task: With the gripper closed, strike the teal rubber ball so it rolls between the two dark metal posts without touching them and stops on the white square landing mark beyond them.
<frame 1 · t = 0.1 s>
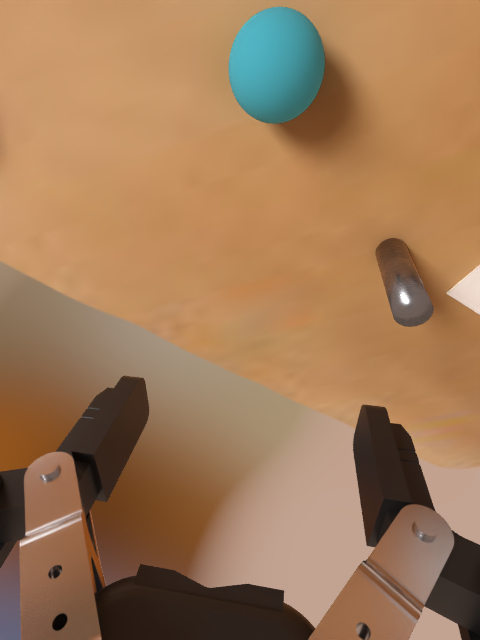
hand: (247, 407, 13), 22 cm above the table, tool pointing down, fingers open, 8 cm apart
ball: (276, 69, 23), on the table
post 1: (391, 251, 32), on the table
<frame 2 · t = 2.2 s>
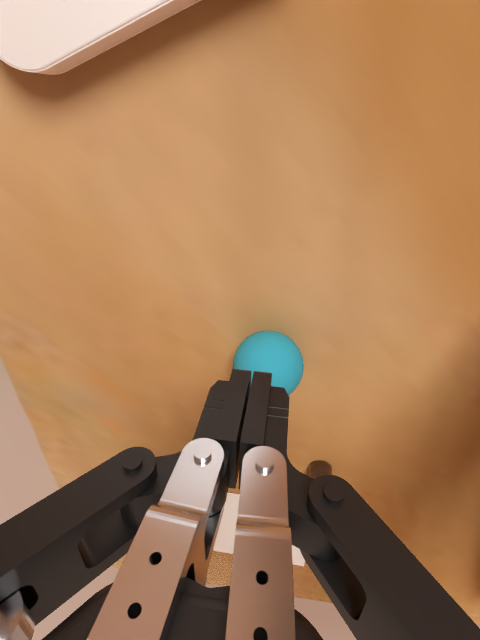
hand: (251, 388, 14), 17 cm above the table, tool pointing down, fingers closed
landing mark: (257, 529, 49), on the table
ball: (268, 365, 31), on the table
post 2: (319, 468, 41), on the table
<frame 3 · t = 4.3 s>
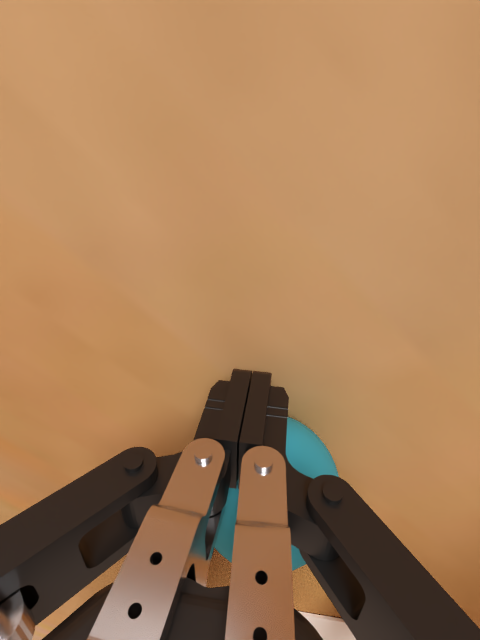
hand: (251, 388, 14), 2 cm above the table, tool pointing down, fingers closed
ball: (266, 486, 15), on the table
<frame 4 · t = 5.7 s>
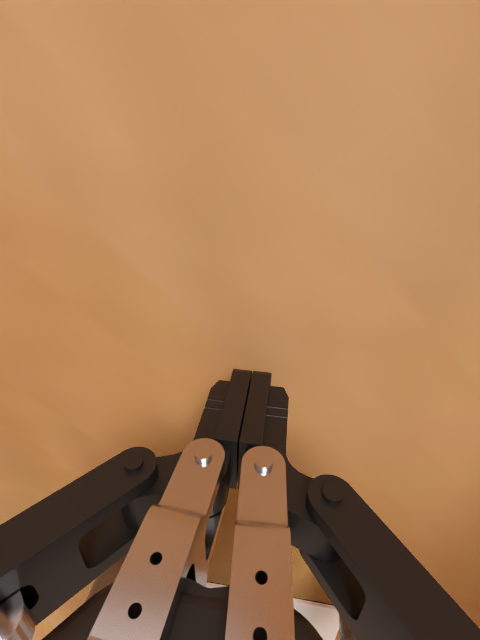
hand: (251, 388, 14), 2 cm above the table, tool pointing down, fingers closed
landing mark: (242, 630, 29), on the table
post 1: (145, 516, 23), on the table
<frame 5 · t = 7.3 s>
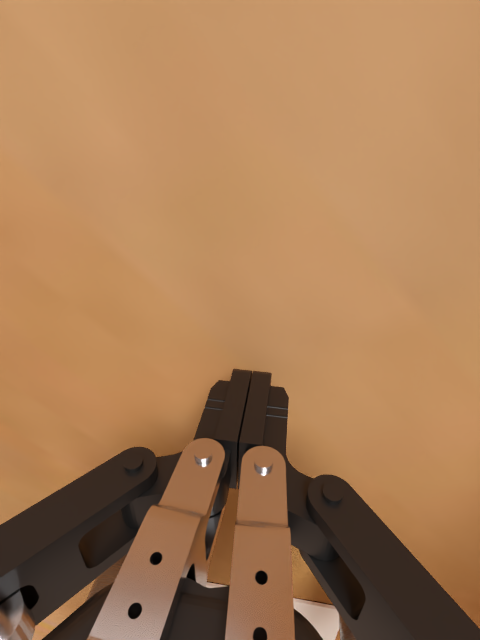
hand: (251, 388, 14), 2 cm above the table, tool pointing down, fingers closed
landing mark: (242, 630, 29), on the table
post 1: (145, 516, 23), on the table
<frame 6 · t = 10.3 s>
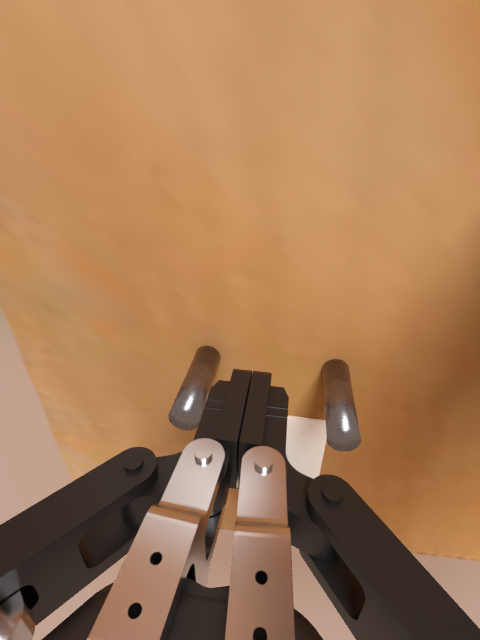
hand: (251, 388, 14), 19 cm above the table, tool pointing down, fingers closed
landing mark: (263, 454, 44), on the table
post 2: (335, 369, 36), on the table
post 1: (208, 356, 38), on the table
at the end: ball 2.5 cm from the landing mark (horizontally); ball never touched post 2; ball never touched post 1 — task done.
